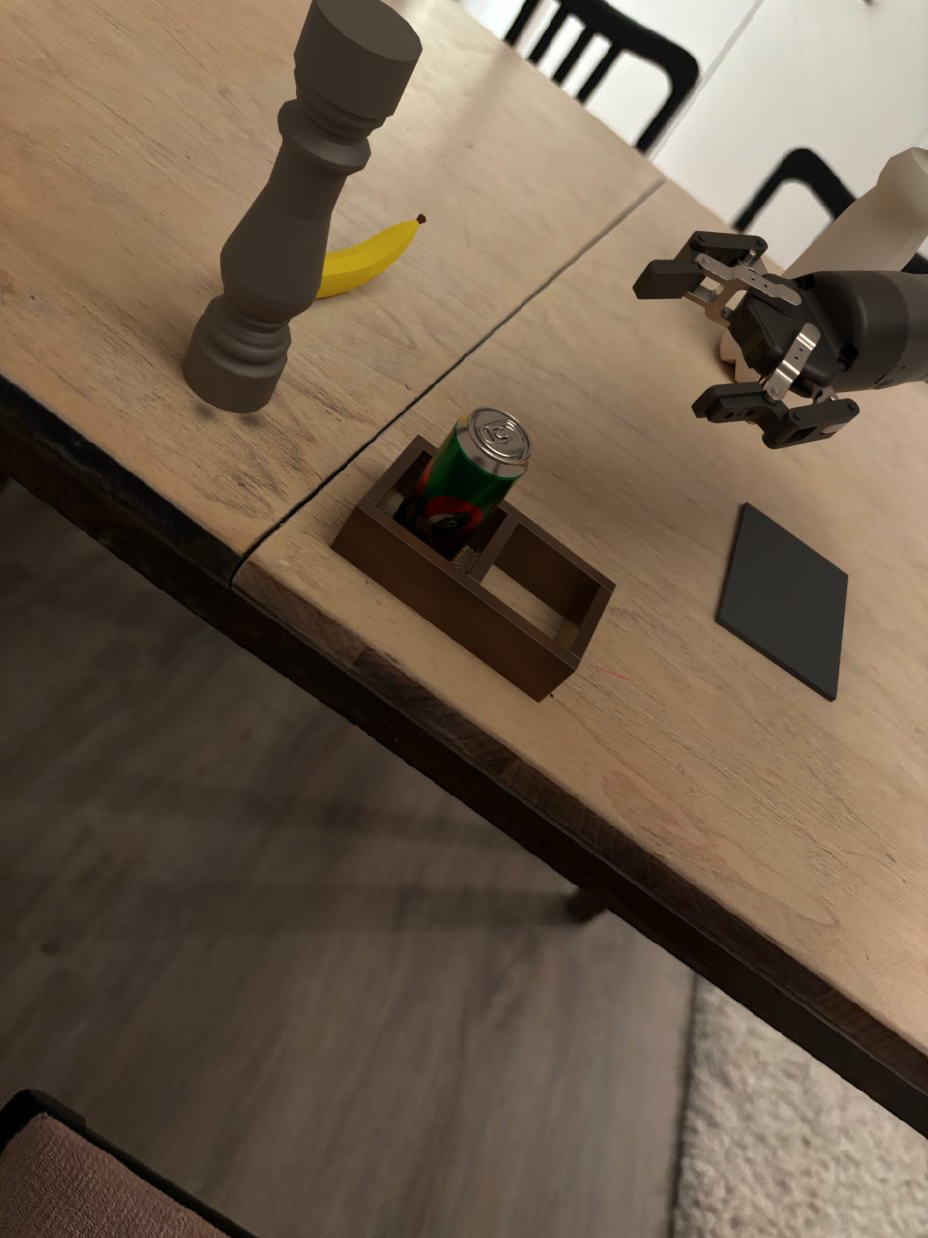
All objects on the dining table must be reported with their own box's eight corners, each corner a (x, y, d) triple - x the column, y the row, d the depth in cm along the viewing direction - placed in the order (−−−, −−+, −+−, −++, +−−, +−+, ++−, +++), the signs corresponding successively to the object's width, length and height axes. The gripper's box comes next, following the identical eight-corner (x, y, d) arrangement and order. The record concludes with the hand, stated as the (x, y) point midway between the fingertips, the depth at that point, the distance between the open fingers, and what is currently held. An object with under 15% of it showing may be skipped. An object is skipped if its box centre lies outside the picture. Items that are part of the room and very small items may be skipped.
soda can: (460, 573, 65) (552, 464, 56) (400, 585, 62) (488, 471, 53) (428, 514, 67) (512, 398, 58) (368, 523, 63) (448, 402, 55)
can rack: (581, 618, 68) (617, 584, 65) (539, 703, 62) (576, 670, 59) (391, 474, 67) (418, 433, 64) (329, 547, 61) (355, 505, 58)
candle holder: (236, 335, 67) (373, -19, 49) (290, 399, 66) (450, 63, 48) (163, 354, 63) (283, -25, 44) (220, 423, 62) (365, 65, 44)
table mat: (831, 702, 77) (836, 699, 77) (714, 621, 75) (719, 617, 75) (844, 578, 88) (848, 574, 87) (742, 504, 86) (746, 500, 86)
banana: (194, 298, 67) (218, 225, 62) (382, 264, 80) (414, 201, 75) (218, 328, 66) (244, 257, 62) (403, 289, 79) (436, 227, 74)
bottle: (794, 402, 101) (1049, 161, 80) (743, 404, 96) (1001, 146, 74) (750, 339, 104) (984, 89, 83) (698, 337, 99) (933, 69, 77)
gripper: (850, 203, 61) (655, 194, 53) (961, 385, 56) (766, 404, 49) (775, 286, 67) (591, 289, 59) (870, 456, 63) (684, 482, 55)
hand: (670, 340), depth 54 cm, fingers open, 8 cm apart
